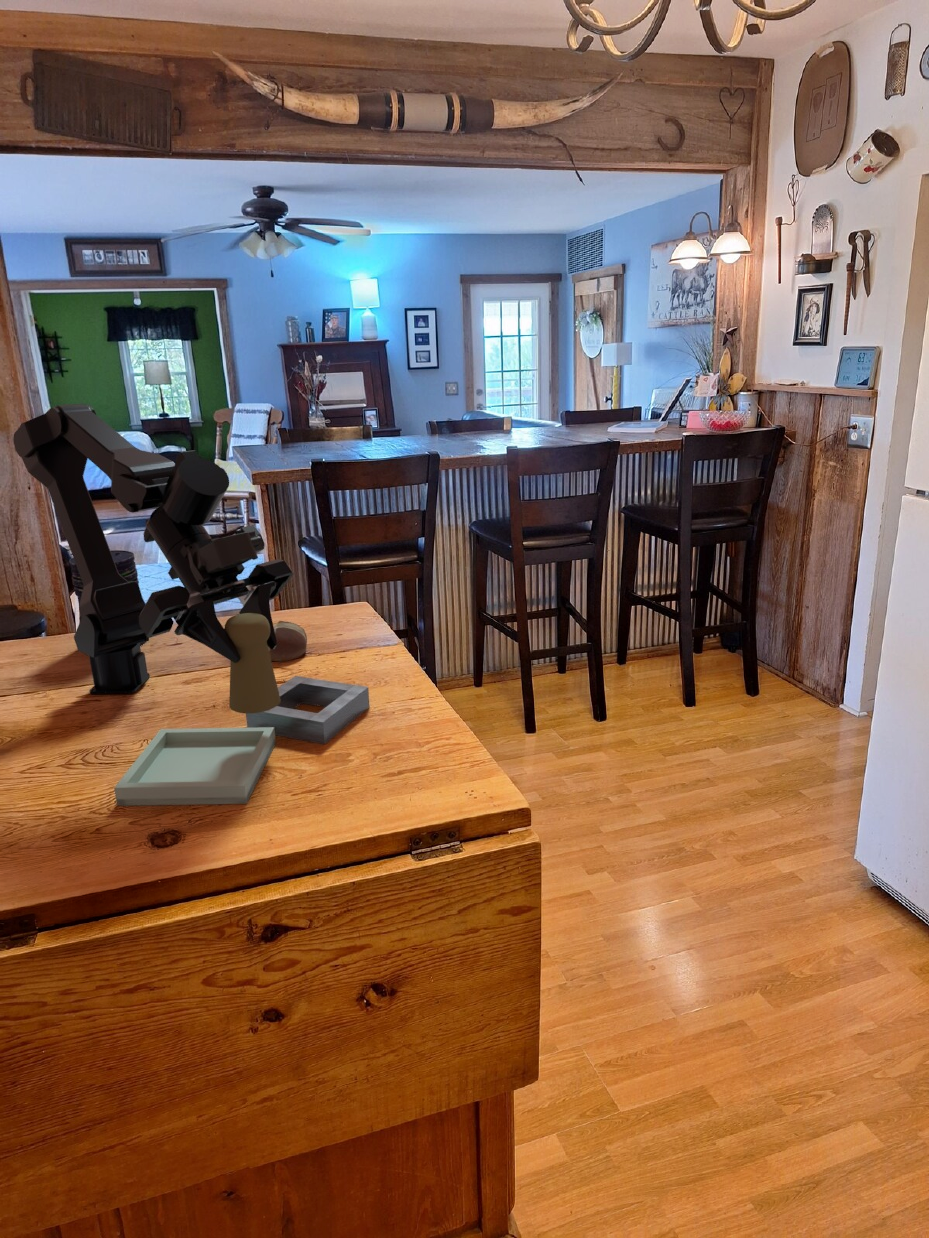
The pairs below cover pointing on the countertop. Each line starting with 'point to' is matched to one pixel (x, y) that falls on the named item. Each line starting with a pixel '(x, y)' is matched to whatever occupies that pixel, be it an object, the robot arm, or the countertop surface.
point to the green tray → (197, 767)
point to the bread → (288, 642)
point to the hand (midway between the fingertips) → (256, 653)
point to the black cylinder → (123, 565)
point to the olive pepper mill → (251, 665)
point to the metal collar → (308, 726)
